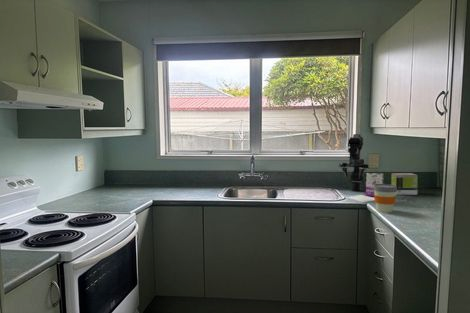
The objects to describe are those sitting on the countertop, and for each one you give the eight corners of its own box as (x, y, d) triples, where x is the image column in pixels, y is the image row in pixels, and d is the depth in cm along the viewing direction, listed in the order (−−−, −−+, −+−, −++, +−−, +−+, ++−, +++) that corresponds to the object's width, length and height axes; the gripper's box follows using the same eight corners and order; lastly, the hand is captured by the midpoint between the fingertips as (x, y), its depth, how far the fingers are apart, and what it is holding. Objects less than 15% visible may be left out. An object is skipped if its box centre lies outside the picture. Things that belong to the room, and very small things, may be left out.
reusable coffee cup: (376, 207, 205) (377, 183, 204) (398, 210, 197) (399, 185, 196) (370, 211, 195) (370, 186, 194) (393, 214, 188) (393, 188, 186)
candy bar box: (382, 197, 234) (383, 173, 234) (382, 197, 229) (383, 173, 229) (365, 195, 239) (367, 172, 239) (365, 196, 234) (366, 172, 234)
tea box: (411, 192, 249) (412, 172, 247) (417, 195, 239) (418, 174, 237) (390, 192, 250) (391, 172, 249) (395, 195, 240) (396, 174, 239)
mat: (360, 195, 239) (360, 194, 239) (379, 199, 225) (379, 199, 225) (344, 198, 231) (344, 197, 231) (363, 202, 217) (363, 201, 217)
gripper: (344, 154, 220) (343, 177, 219) (372, 155, 219) (371, 179, 219) (339, 155, 231) (338, 177, 230) (365, 156, 231) (364, 179, 230)
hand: (353, 178), depth 227 cm, fingers open, 9 cm apart
